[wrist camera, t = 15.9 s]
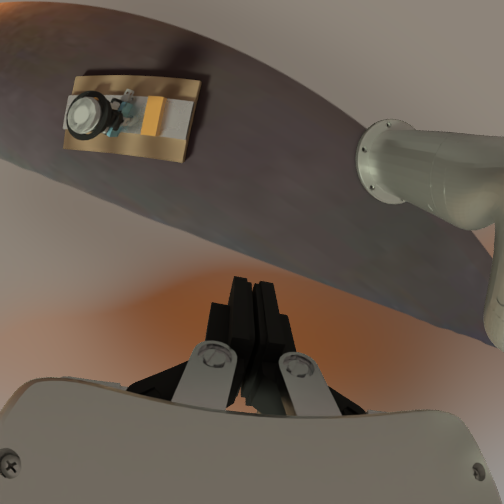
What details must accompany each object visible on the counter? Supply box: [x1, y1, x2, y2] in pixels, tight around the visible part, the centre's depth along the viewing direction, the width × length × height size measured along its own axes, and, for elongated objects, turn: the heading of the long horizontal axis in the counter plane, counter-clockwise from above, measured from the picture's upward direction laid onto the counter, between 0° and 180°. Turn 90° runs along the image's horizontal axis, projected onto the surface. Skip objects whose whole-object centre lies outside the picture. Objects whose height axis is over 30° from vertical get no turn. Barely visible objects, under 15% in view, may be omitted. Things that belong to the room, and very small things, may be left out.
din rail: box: [63, 95, 195, 140], centre depth 30 cm, size 19×5×1 cm, turn 77°
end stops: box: [94, 96, 167, 136], centre depth 29 cm, size 12×5×2 cm, turn 77°
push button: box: [66, 89, 134, 141], centre depth 25 cm, size 7×5×10 cm
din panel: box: [63, 75, 202, 163], centre depth 31 cm, size 19×11×2 cm, turn 77°
